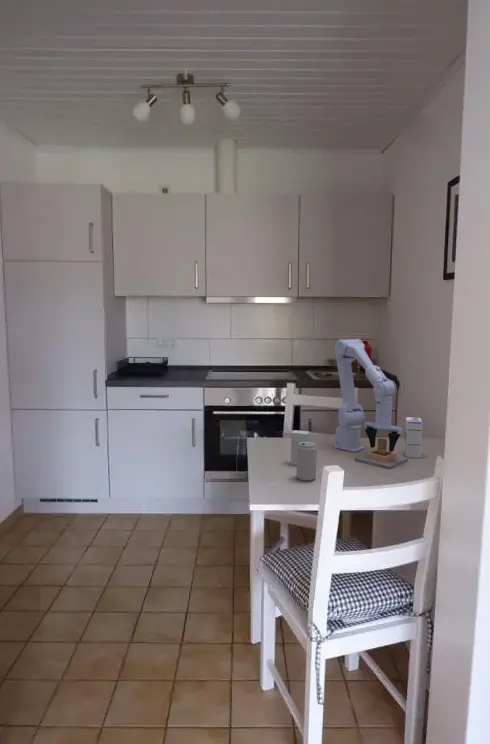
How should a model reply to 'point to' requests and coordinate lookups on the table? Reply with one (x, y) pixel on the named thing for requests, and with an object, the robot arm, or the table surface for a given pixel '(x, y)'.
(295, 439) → the skincare box
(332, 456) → the table surface
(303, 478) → the beverage can
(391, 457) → the collar stand
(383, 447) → the wood peg
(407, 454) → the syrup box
